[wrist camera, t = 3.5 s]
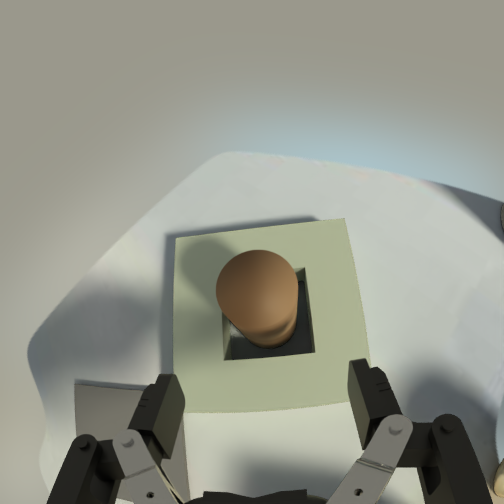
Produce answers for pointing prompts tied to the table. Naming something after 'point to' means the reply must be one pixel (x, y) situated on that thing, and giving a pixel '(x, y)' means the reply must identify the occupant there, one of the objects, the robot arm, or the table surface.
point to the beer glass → (499, 480)
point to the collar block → (273, 368)
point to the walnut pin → (259, 297)
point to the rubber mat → (124, 428)
